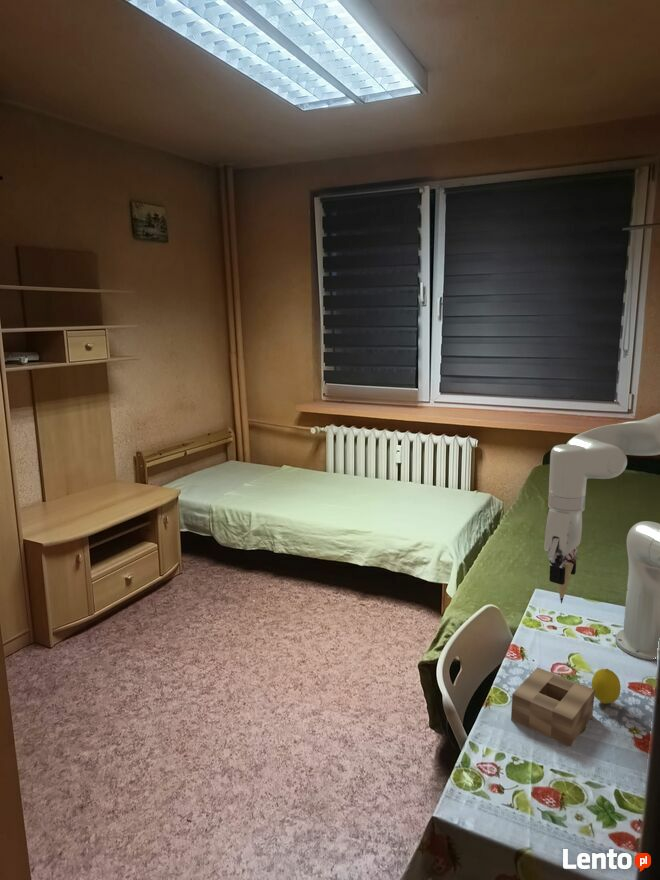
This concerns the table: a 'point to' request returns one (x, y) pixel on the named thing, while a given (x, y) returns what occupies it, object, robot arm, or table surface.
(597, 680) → the lemon
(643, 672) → the table surface
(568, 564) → the ice cream cone
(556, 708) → the cone stand
